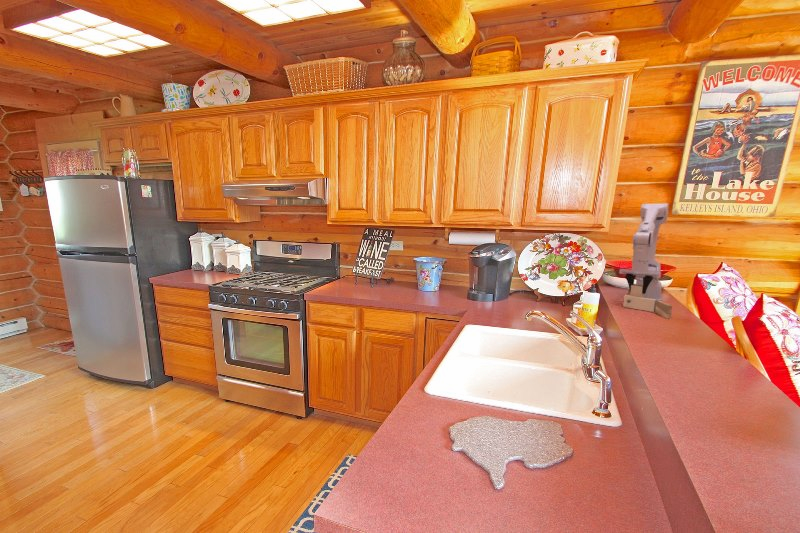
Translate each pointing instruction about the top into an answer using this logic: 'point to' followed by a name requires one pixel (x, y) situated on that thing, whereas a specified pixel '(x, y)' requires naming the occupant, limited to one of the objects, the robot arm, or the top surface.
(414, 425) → the top surface
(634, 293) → the doorstop block
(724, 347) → the top surface
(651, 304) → the door
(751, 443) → the top surface
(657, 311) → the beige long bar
